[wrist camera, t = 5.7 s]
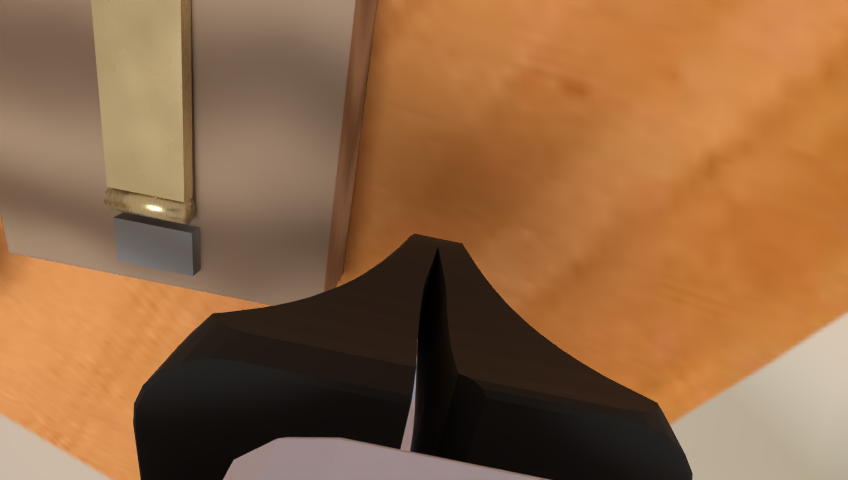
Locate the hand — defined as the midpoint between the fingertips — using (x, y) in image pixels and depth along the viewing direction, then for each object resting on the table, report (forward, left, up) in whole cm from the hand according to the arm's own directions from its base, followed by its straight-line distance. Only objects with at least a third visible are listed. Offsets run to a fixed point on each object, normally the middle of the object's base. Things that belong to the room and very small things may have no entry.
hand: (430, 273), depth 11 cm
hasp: (+2, +11, -6) cm, 13 cm away
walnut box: (+2, +11, -10) cm, 15 cm away
